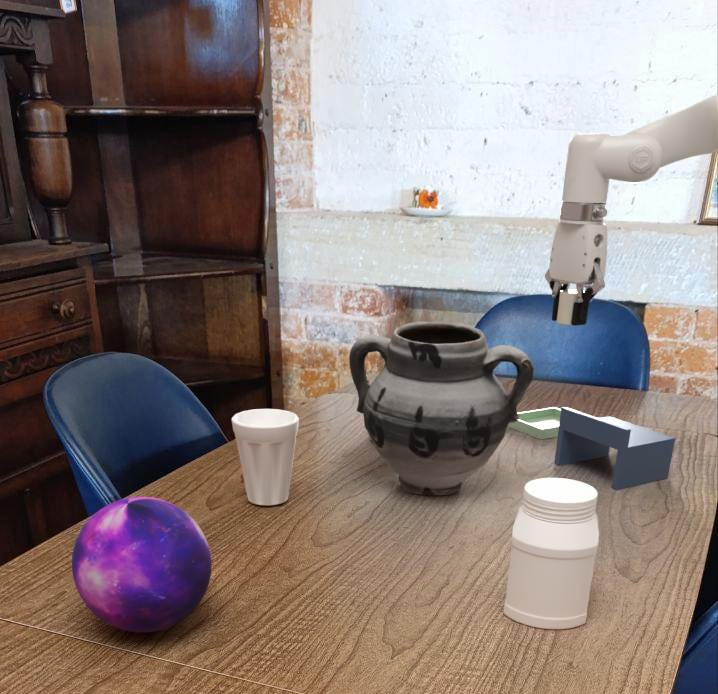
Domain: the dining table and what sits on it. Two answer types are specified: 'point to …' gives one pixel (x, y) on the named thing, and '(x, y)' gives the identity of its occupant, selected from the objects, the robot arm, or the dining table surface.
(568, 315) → the canister
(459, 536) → the dining table surface
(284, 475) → the cup
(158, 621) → the decorative orb
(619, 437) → the stand
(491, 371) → the ceramic pot
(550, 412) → the tray
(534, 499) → the jar
